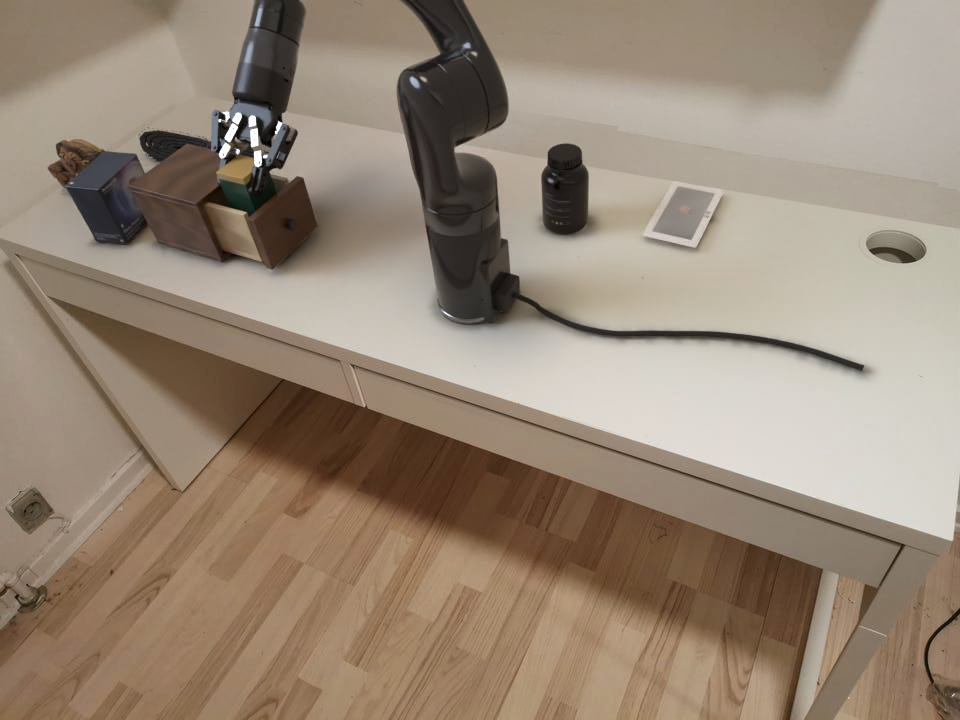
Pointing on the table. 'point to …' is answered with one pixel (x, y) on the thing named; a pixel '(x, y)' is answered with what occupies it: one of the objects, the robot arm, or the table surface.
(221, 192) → the drawer
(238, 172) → the tea tin
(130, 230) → the small box
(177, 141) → the hairbrush
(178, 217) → the cabinet
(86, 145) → the wooden carving
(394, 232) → the table surface
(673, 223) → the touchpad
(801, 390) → the table surface
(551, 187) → the supplement bottle
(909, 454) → the table surface
